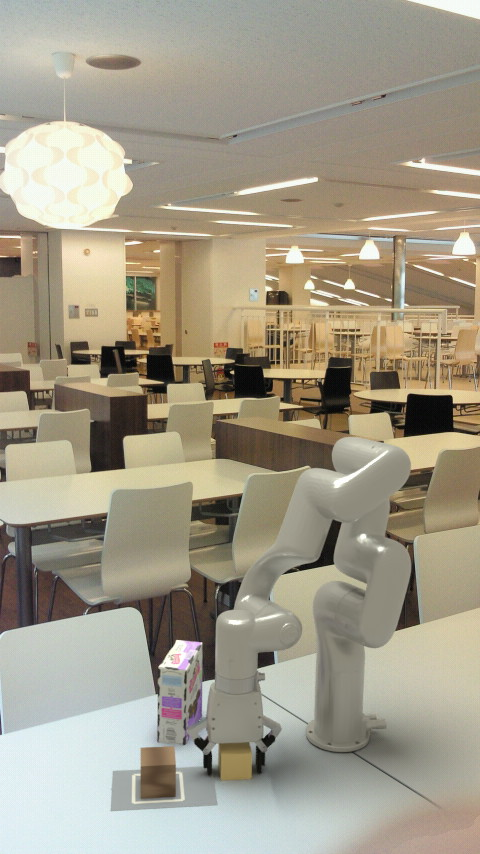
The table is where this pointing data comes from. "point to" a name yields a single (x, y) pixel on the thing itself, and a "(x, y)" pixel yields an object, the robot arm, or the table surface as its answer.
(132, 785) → the board
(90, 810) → the table surface
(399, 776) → the table surface
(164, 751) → the walnut block
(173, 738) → the candy box
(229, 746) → the ochre block
